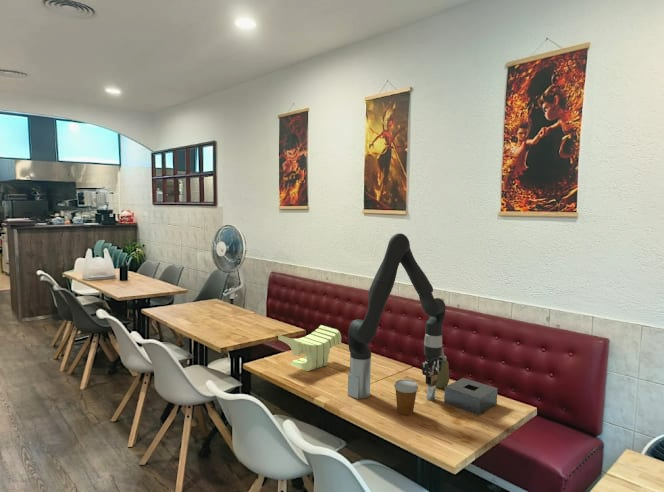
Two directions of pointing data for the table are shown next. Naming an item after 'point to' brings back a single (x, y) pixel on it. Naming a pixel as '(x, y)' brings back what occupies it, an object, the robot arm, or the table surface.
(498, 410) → the table surface
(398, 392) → the disposable coffee cup
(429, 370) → the robot arm
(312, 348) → the slatted curved stool
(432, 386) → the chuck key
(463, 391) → the block
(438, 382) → the squeeze bottle
